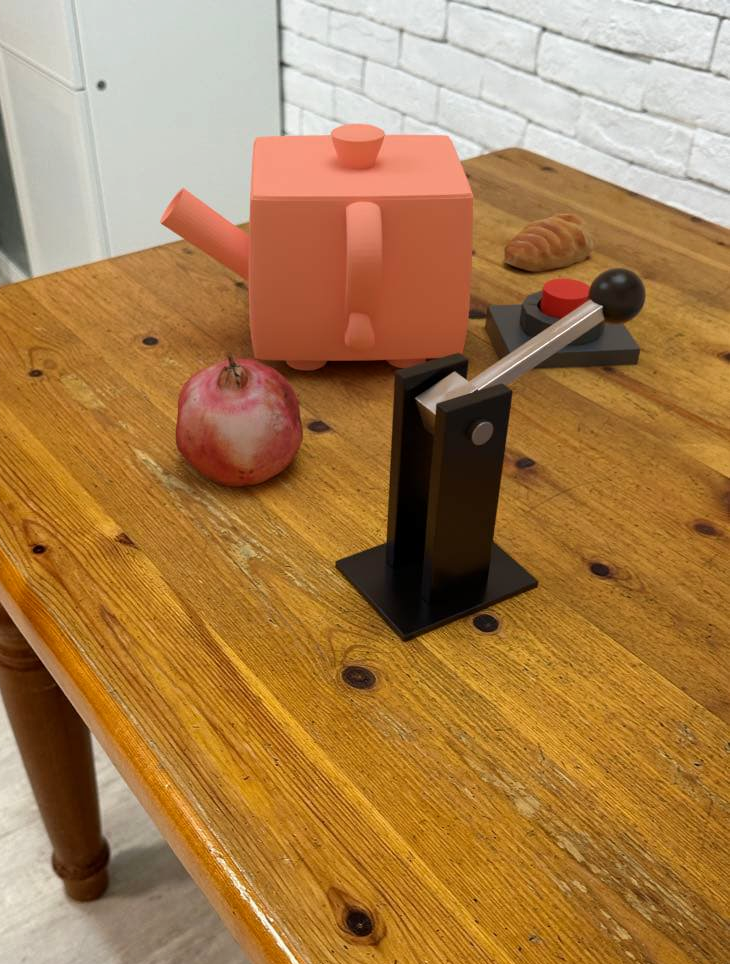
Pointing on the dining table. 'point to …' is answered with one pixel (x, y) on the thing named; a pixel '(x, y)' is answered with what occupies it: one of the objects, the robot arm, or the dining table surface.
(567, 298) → the red push button
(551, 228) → the pastry
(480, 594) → the bracket
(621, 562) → the dining table surface
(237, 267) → the teapot
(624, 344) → the button box
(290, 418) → the fruit
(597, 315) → the tap lever
